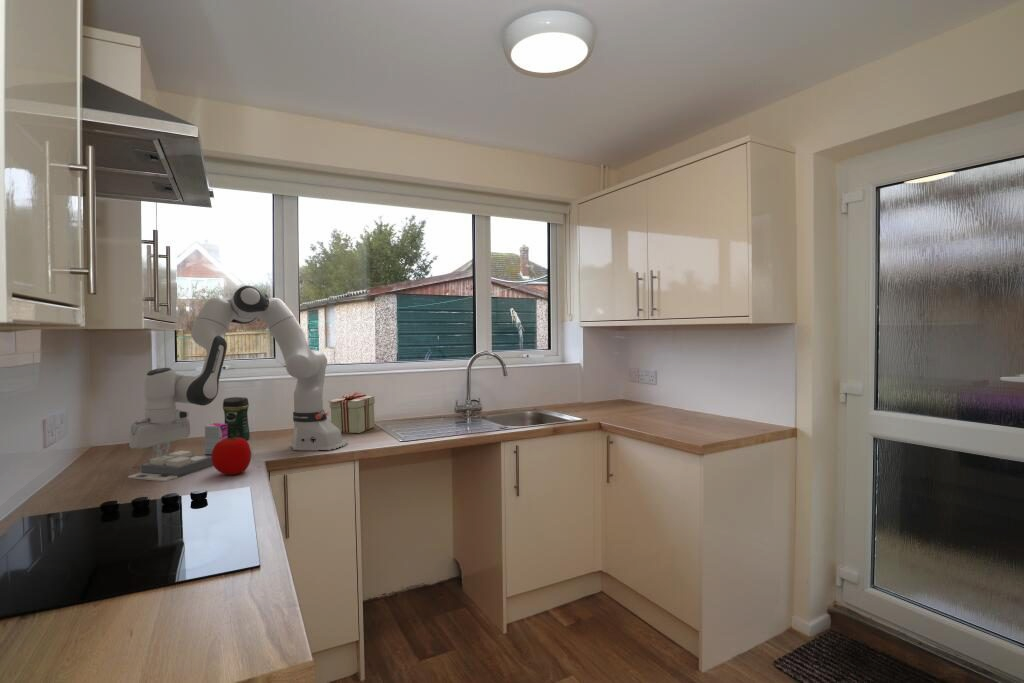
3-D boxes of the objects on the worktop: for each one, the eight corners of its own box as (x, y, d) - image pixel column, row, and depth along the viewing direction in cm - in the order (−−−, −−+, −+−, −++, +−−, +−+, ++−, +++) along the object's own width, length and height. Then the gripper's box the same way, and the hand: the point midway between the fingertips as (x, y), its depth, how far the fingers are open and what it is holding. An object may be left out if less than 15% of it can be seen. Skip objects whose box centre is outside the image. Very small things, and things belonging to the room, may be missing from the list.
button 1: (174, 463, 180) (174, 456, 180) (161, 467, 176) (161, 460, 175) (163, 462, 182) (163, 455, 182) (150, 466, 177) (149, 459, 177)
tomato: (260, 470, 179) (259, 434, 178) (231, 480, 168) (230, 441, 167) (232, 467, 183) (231, 431, 183) (203, 476, 172) (202, 439, 172)
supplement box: (219, 456, 198) (218, 426, 198) (204, 455, 199) (203, 426, 198) (228, 452, 204) (227, 423, 204) (214, 451, 205) (213, 422, 204)
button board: (216, 464, 187) (215, 456, 187) (165, 481, 167) (165, 472, 167) (181, 461, 191) (181, 453, 191) (127, 477, 171) (127, 468, 171)
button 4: (208, 463, 185) (207, 456, 185) (196, 467, 181) (196, 460, 180) (196, 462, 187) (196, 455, 187) (184, 466, 182) (184, 459, 182)
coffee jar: (253, 438, 228) (251, 396, 227) (242, 442, 220) (240, 398, 219) (232, 437, 229) (230, 395, 228) (220, 442, 221) (219, 398, 220)
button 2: (191, 464, 179) (190, 457, 178) (178, 468, 174) (178, 461, 174) (179, 463, 180) (179, 456, 180) (166, 467, 175) (166, 460, 175)
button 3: (192, 458, 187) (191, 451, 187) (179, 461, 182) (179, 455, 182) (180, 457, 188) (180, 450, 188) (168, 460, 184) (168, 454, 184)
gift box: (340, 425, 254) (339, 390, 253) (376, 427, 251) (375, 391, 250) (322, 433, 237) (321, 395, 236) (360, 434, 234) (359, 396, 233)
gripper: (138, 422, 167) (140, 465, 168) (193, 411, 187) (194, 449, 187) (123, 421, 169) (124, 463, 169) (179, 410, 189) (180, 448, 189)
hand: (161, 456), depth 179 cm, fingers closed
